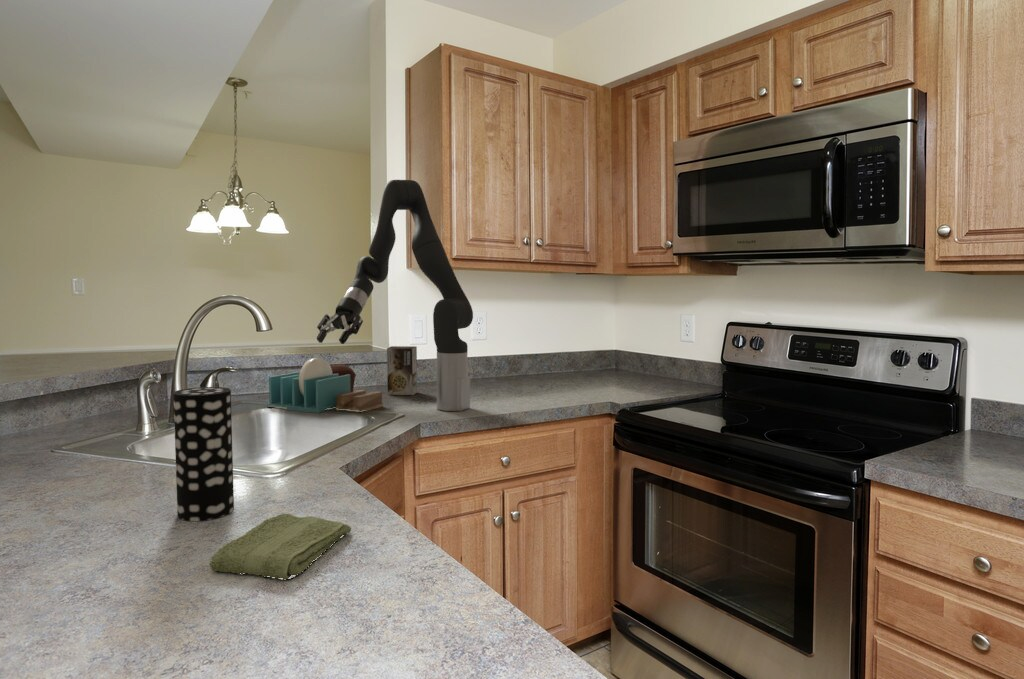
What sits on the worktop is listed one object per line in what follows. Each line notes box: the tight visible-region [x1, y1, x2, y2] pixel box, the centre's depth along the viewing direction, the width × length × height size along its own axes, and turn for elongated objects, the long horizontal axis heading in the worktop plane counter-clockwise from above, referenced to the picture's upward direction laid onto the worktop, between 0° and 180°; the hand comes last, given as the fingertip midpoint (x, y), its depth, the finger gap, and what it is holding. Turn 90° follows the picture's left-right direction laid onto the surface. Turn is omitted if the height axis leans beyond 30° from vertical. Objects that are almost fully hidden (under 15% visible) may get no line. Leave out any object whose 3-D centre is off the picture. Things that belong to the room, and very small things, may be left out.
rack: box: [266, 371, 350, 414], centre depth 196 cm, size 19×16×9 cm
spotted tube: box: [172, 386, 235, 522], centre depth 104 cm, size 8×8×20 cm
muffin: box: [330, 364, 357, 392], centre depth 216 cm, size 12×11×10 cm
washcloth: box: [208, 513, 352, 579], centre depth 90 cm, size 13×18×3 cm
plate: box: [299, 357, 332, 397], centre depth 195 cm, size 2×13×13 cm, turn 157°
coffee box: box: [386, 345, 418, 396], centre depth 219 cm, size 9×6×16 cm
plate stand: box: [335, 389, 384, 411], centre depth 193 cm, size 9×11×4 cm
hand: (329, 341), depth 200 cm, fingers open, 8 cm apart
